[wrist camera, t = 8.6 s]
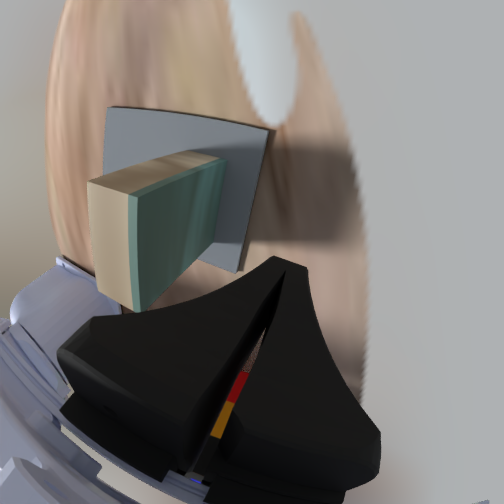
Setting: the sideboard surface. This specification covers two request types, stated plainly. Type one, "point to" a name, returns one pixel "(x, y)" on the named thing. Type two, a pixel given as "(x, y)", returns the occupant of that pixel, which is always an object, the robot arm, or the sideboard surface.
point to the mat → (201, 141)
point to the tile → (152, 223)
